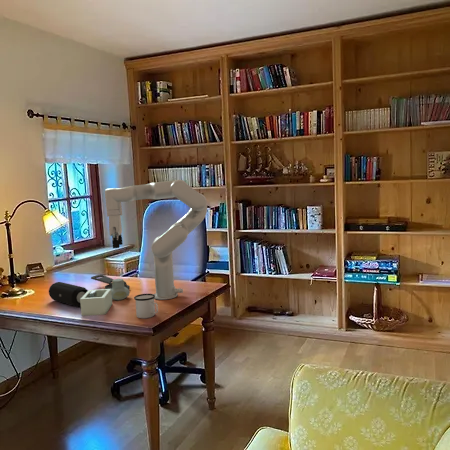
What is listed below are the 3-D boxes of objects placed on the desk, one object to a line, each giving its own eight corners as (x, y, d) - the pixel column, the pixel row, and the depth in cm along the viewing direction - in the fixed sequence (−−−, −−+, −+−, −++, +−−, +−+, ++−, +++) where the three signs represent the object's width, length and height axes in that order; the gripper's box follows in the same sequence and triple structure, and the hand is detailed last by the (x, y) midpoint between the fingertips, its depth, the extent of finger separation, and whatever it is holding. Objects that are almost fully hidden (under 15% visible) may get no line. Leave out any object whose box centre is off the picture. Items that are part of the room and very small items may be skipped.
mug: (130, 317, 214) (129, 297, 213) (145, 311, 222) (144, 292, 221) (150, 321, 207) (149, 300, 206) (165, 314, 215) (163, 295, 214)
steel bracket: (103, 306, 230) (102, 290, 229) (101, 309, 225) (100, 292, 224) (93, 306, 230) (91, 290, 229) (90, 309, 225) (89, 293, 224)
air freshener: (128, 295, 252) (127, 277, 250) (131, 299, 244) (129, 280, 243) (107, 298, 248) (106, 279, 247) (109, 302, 240) (107, 283, 239)
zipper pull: (101, 273, 277) (131, 277, 263) (102, 284, 278) (132, 289, 264) (89, 277, 270) (119, 281, 256) (90, 288, 271) (120, 293, 257)
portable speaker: (48, 302, 246) (46, 283, 245) (65, 297, 254) (63, 279, 253) (75, 310, 230) (73, 290, 229) (92, 305, 237) (91, 285, 236)
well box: (112, 304, 236) (111, 288, 235) (105, 314, 220) (104, 297, 219) (90, 305, 236) (88, 290, 235) (81, 315, 220) (80, 299, 219)
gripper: (110, 211, 247) (113, 244, 249) (103, 215, 230) (107, 249, 232) (124, 210, 247) (127, 243, 249) (119, 214, 230) (122, 248, 232)
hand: (117, 246), depth 241 cm, fingers open, 9 cm apart
